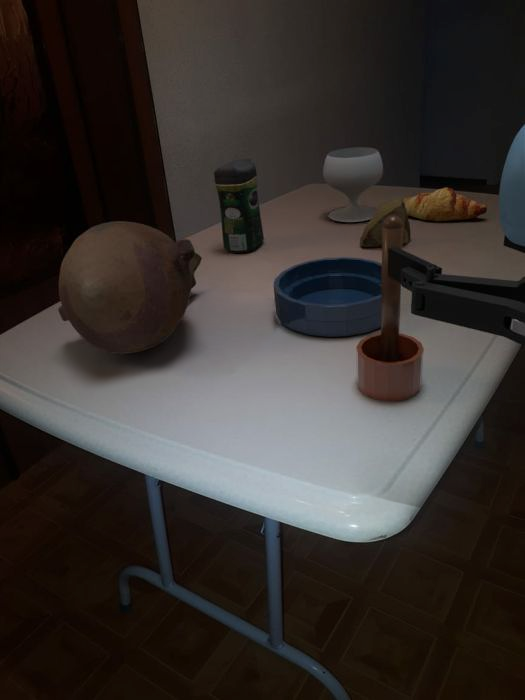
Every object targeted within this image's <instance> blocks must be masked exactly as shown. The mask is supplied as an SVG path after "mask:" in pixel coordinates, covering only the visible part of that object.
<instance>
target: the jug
mask: <svg viewBox="0 0 525 700" xmlns="http://www.w3.org/2000/svg"><path fill="white" fill-rule="evenodd" d="M195 250H196V249H195V247H194V245H193V243H192V241H191V240H190V239H187V238H185V239H184V238H183V239H179V240H177V241H176V240H175V241H174V240H173V239H172V238H171V237H170V236H169V235H167V234H166V233H164V232H162V231H161V230H159V229H157V228H154V227H152V226H149V225H146V224H143V223H140V222H135V221H125V220H123V221H121V220H115V221H108V222H102V223H100V224H96V225H94V226H91V227H90V228H88V229H87V230H86V231H84V232H83V233H81V234H80V235H79V236H77V238H75V240H74V241H73V242H72V244H71V246H70V247H69V249H68V250H67V252H66V253H65V255H64V257H63V259H62V262H61V265H60V269H59V277H58V295H59V296H58V297H59V301H60V304H61V306H59V307H58V309H57V311H58V314H59V316H60V318H61V321H63V322H68V321H69V323H70V324H71V327H73V329H74V330H75V331H76V333H77V334H78V335H79V336H80V337H81V338H82V339H84V340H85V341H86V342H88V343H89V344H91V345H93V347H95V348H98V349H100V350H102V351H104V352H107V353H110V354H133V353H139V352H144V351H146V350H149V349H152V348H154V347H156V346H157V345H160V343H162V342H164V341H165V340H167V338H169V337H170V335H172V334H173V333H174V331H175V330H176V328H177V327H178V325H179V323H180V322H181V321H182V319H183V317H184V315H185V313H186V311H187V309H188V305H189V302H190V298H191V292H192V289H193V288H194V287H195V286H196V285H197V280H196V278H195V272H196V271H197V270H198V267H199V266H200V265H201V261H202V259H203V257H201V255H200V254H198V253H197V252H195Z"/></svg>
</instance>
